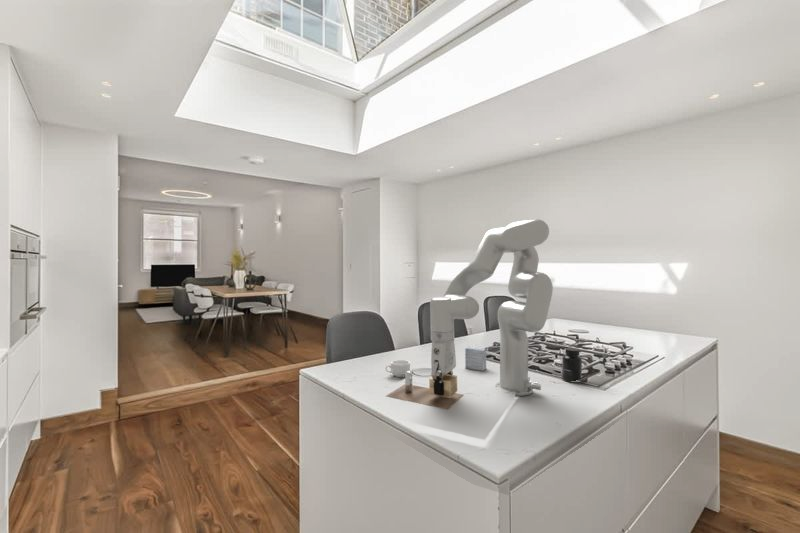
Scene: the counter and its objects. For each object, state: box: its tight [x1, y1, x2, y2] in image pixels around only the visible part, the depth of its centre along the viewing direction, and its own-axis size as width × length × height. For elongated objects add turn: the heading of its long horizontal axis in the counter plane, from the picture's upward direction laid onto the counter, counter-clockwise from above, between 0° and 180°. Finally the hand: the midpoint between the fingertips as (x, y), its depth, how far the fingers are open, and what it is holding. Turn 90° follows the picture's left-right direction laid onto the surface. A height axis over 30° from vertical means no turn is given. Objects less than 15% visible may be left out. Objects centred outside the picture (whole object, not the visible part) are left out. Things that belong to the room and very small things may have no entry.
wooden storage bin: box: [428, 374, 458, 398], centre depth 120 cm, size 7×7×5 cm
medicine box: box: [464, 346, 487, 372], centre depth 159 cm, size 8×4×9 cm, turn 58°
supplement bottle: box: [561, 347, 583, 382], centre depth 143 cm, size 7×7×12 cm
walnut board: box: [385, 384, 464, 410], centre depth 123 cm, size 22×14×2 cm, turn 61°
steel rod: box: [404, 371, 413, 393], centre depth 126 cm, size 2×2×7 cm
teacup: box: [385, 359, 411, 378], centre depth 149 cm, size 10×8×5 cm
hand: (443, 390), depth 120 cm, fingers closed on wooden storage bin, 6 cm apart
